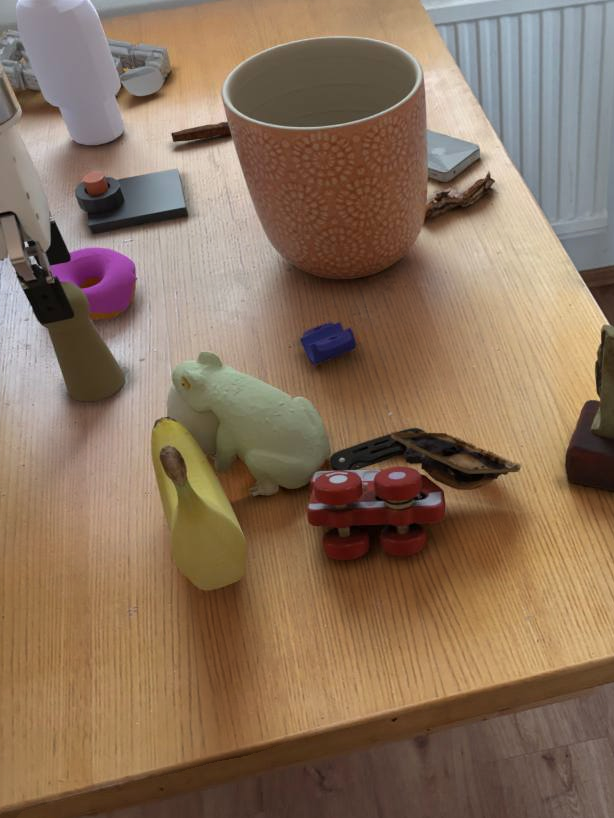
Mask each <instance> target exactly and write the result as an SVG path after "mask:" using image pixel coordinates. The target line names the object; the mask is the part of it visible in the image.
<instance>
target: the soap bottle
mask: <svg viewBox="0 0 614 818" xmlns="http://www.w3.org/2000/svg"><path fill="white" fill-rule="evenodd" d="M15 21H16V25H17V26H16V27H17V31H18V33H19V36H20V38H21V41H22V43H23V46H24V48H25V51H26V53H27V56H28V58H29V61H30V63H31V66H32V69H33V71H34V74H35V76H36V79H37V81H38V84H39V86H40V89H41V91H40V92H41V94H42V96H43V99H44V100H45V101H46V102H47V103H49V104H50V105H51V106H52V107H57V108H59V111H60V114H61V116H62V119H63V121H64V124H65V127H66V130H67V131H68V135H69V136H70V138H71V139H72V140H73V141H75V143H77V144H80V145H85V146H98V145H105V144H107V143H110V142H113V141H115V140H116V139H117V138H119V137H120V136H122V133H123V132H124V130H125V122H124V119H123V115H122V113H121V110H120V107H119V104H118V101H117V97H116V95H115V94H117V95H118V93H119V91H120V90H121V87H122V83H121V81H120V79H119V76H118V73H117V70H116V67H115V64H114V61H113V58H112V55H111V52H110V49H109V46H108V43H107V40H106V39H107V36H106V33H105V31H104V28H103V25H102V22H101V19H100V16H99V13H98V11H97V10H96V8H95V6H94V4H93V3H92V1H91V0H17V2H16V4H15ZM119 89H120V90H119ZM117 92H118V93H117ZM115 97H116V98H115Z"/></svg>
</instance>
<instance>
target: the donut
mask: <svg viewBox="0 0 614 818" xmlns="http://www.w3.org/2000/svg"><path fill="white" fill-rule="evenodd" d="M69 253H70V255H71V260H70V261H69V262H66V263H61V264H56V265H52V266H50V268H51V271H52V274H53V277H55V276H58V278H59V280H60V282H70V283H73V284H74V285H76V286H77V287H79V288H80V289H81V290H82V291H83V292H84V294H85V295H86V297H87V299H88V302H89V307H90V311H89V317H90V319H91V320H108V319H111V318H115V317H117V316H119V315H120V314H122V313H123V312H124V311H126V310H127V308H128V307H129V306H130V304H131V302H133V298H134V295H135V293H136V286H137V285H136V283H137V281H138V277H137V273H136V271H137V268H136V264H135V262H134V261H133V260H132V259H131V258H130V257H128V256H127V255H124V254H123V253H121V252H119V251H116V250H115V249H110V248H107V247H95V246H94V247H84V248H81V249H76V250H72V251H71V252H70V251H69Z"/></svg>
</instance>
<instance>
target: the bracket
mask: <svg viewBox="0 0 614 818" xmlns="http://www.w3.org/2000/svg"><path fill="white" fill-rule="evenodd" d="M299 341H300V343H301V345H302V348H303V350H304V352H305V354H306V356H307V357H308V359H309V361H310V363H311V364H312V366H314V367H315V366H318V365H320V364H323V363H325V362H327V361H330V360H332V359H334V358H337V357H339V356H343V355H344V354H347V353H349V352H351V351H353V350H356V349H357V342H356V341H357V340H356V338H355V334H354V331H353V328H352V327H348V328H346V329H344V327H343V325H342V323H341V322H340V321H339V322H336V323H334V322H327V323H323V324H320V325H318V326H315V327H312V328H309V329H308V330H306V331H304V332H303V333H302V337H299Z"/></svg>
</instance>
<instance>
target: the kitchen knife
mask: <svg viewBox="0 0 614 818" xmlns="http://www.w3.org/2000/svg"><path fill="white" fill-rule="evenodd" d="M230 134H231V132H230V128H229V125H228V121H221V122H218V123H213V124H212V123H211V124H203V125H200V126H195V127H190V128H185V129H181V130H177V131H175V132H171V133H170V135H171V138H172V142H173V143H177V142H189V141H190V142H191V141H197V140H205V139H211V138H215V137H218V136H227V135H230Z"/></svg>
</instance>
